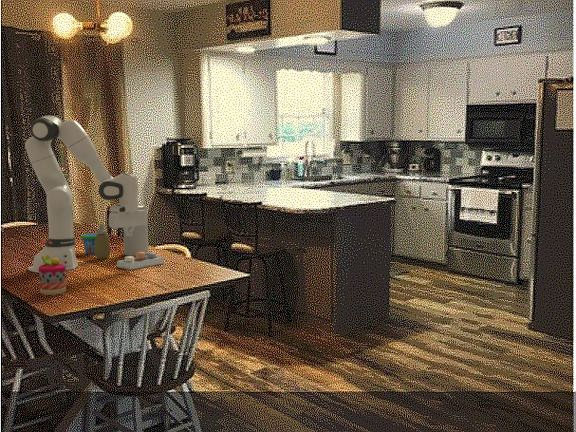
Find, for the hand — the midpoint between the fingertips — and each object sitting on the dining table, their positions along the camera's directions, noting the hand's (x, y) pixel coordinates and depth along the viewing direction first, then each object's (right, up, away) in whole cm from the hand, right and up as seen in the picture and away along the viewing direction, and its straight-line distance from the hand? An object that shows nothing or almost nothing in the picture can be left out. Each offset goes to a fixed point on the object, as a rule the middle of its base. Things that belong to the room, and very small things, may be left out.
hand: (128, 235), depth 303 cm
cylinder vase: (-4, -11, +33) cm, 35 cm away
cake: (-18, -22, -48) cm, 56 cm away
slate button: (+9, -12, +10) cm, 18 cm away
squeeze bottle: (-19, -12, +22) cm, 32 cm away
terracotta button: (+5, -11, +5) cm, 13 cm away
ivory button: (0, -13, 0) cm, 13 cm away
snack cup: (-28, -11, +34) cm, 46 cm away
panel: (+5, -15, +5) cm, 16 cm away
